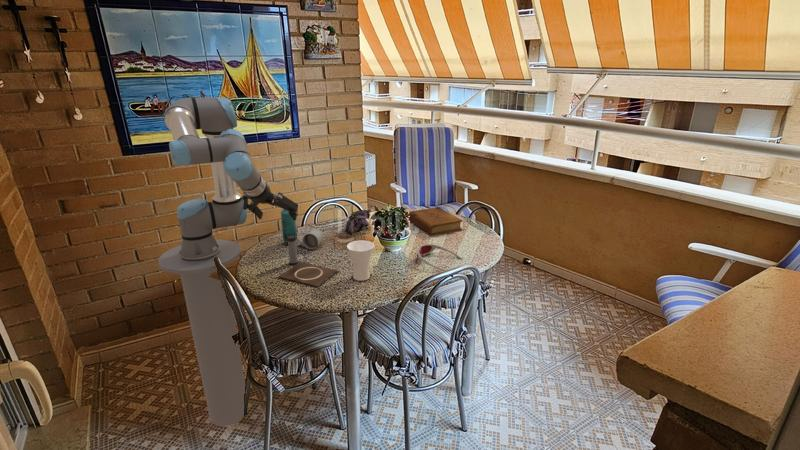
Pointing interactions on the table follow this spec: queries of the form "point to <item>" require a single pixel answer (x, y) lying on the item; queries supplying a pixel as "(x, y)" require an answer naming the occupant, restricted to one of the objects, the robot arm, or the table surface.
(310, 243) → the ceramic mug
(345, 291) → the table surface
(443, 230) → the diary
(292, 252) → the cylinder
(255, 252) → the table surface
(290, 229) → the beverage bottle
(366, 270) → the cup
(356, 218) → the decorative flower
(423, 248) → the sunglasses
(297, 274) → the drawing board
